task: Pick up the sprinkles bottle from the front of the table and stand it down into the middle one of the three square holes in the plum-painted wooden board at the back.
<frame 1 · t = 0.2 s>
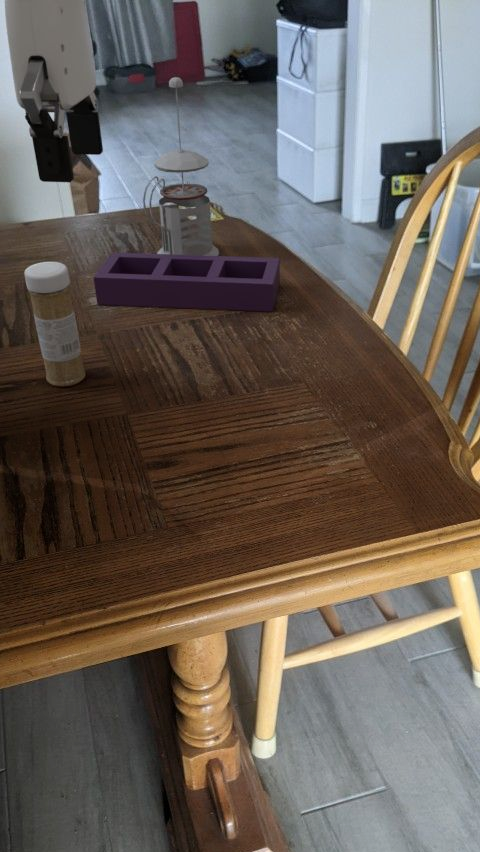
hand: (73, 166, 77), 24 cm above the table, tool pointing down, fingers open, 9 cm apart
sprinkles bottle: (66, 380, 91), on the table
token board: (190, 294, 110), on the table
french press: (183, 255, 123), on the table
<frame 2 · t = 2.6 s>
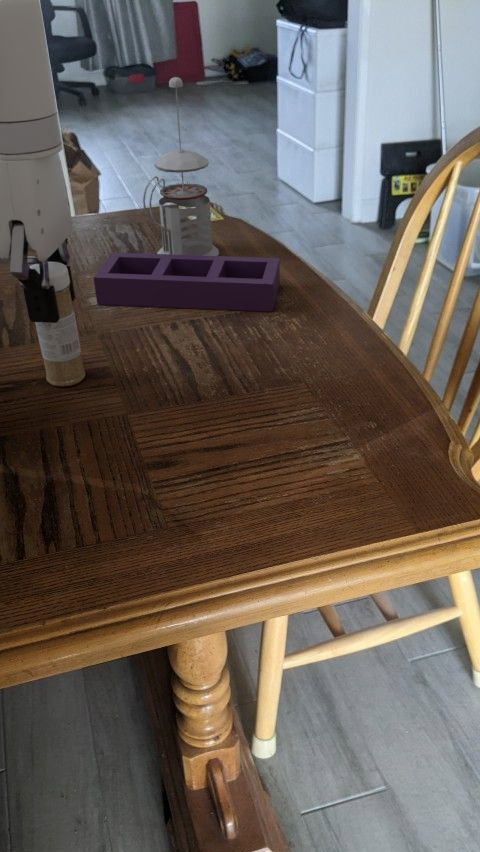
hand: (53, 308, 86), 9 cm above the table, tool pointing down, fingers closed on sprinkles bottle, 4 cm apart
sprinkles bottle: (66, 380, 91), on the table, touching gripper
everything else where it was.
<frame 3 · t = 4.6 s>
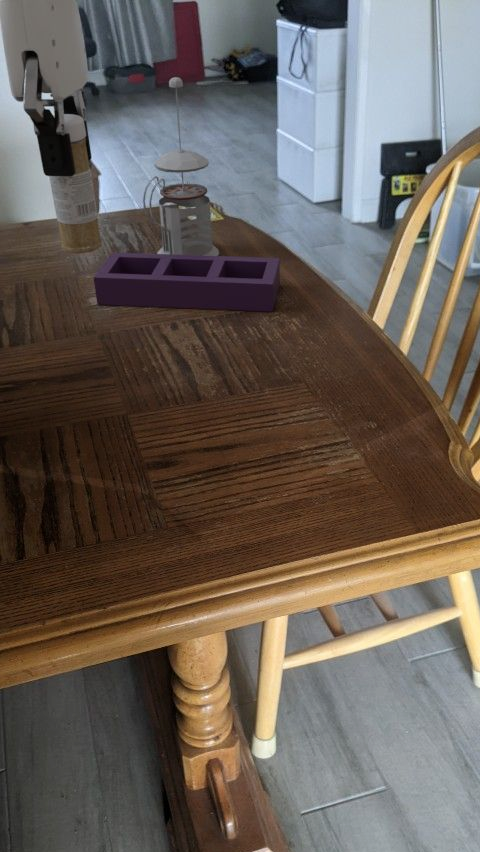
hand: (68, 165, 82), 23 cm above the table, tool pointing down, fingers closed on sprinkles bottle, 4 cm apart
sprinkles bottle: (82, 249, 87), point 14 cm above the table, touching gripper
everything else where it was.
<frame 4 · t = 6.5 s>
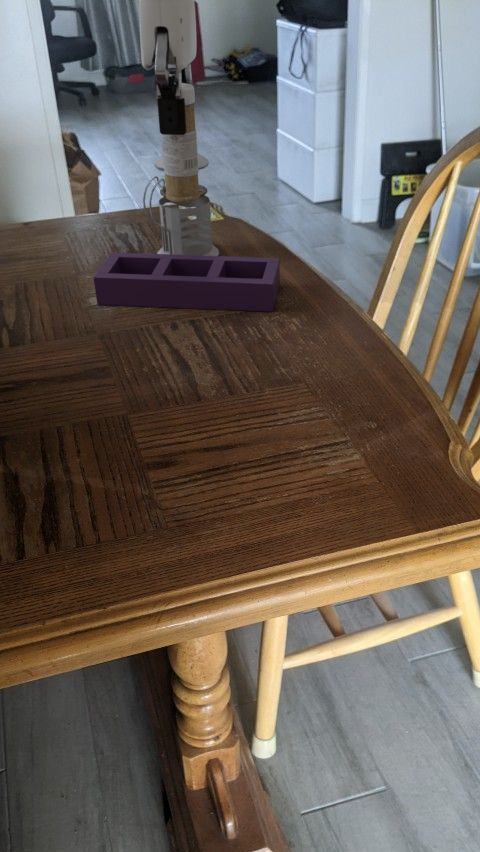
hand: (177, 127, 97), 22 cm above the table, tool pointing down, fingers closed on sprinkles bottle, 4 cm apart
sprinkles bottle: (183, 200, 102), point 13 cm above the table, touching gripper
everything else where it was.
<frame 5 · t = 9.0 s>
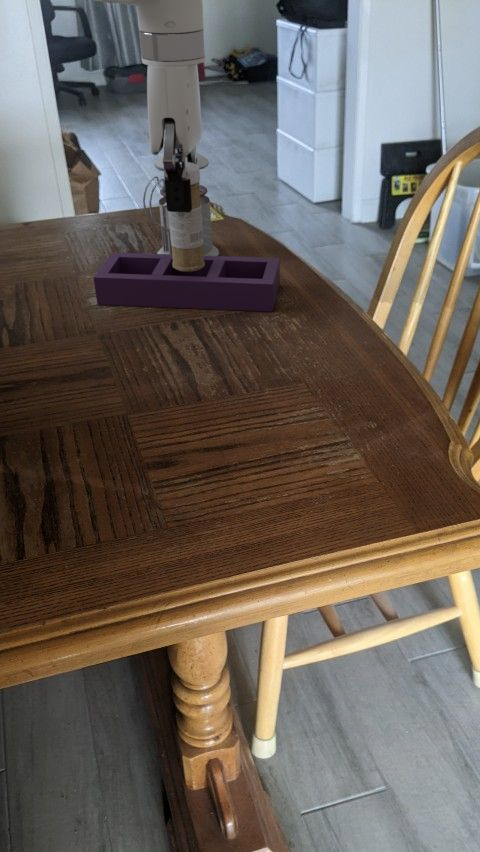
hand: (183, 203, 102), 13 cm above the table, tool pointing down, fingers closed on sprinkles bottle, 4 cm apart
sprinkles bottle: (188, 268, 108), point 4 cm above the table, touching gripper
everything else where it was.
when the fingers open (9 cm above the table, at t = 10.5 s): sprinkles bottle stays where it is, resting in token board.
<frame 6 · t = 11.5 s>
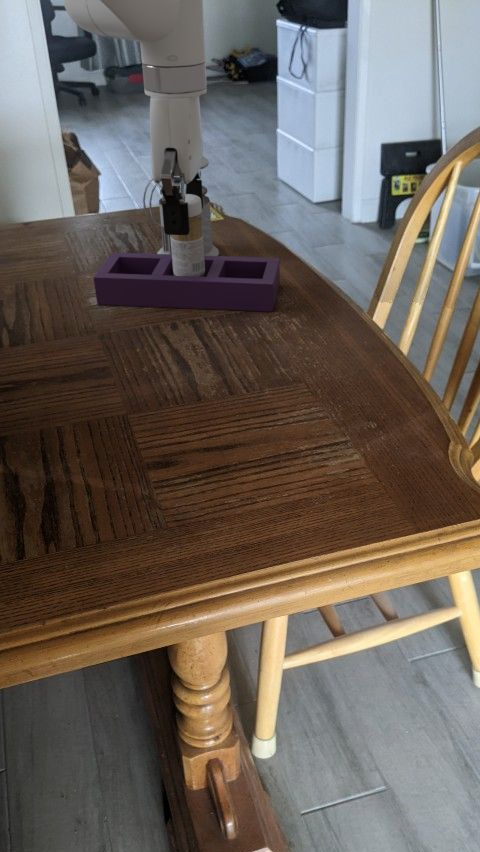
hand: (184, 221, 104), 10 cm above the table, tool pointing down, fingers open, 9 cm apart
sprinkles bottle: (190, 296, 110), resting in token board
everything else where it was.
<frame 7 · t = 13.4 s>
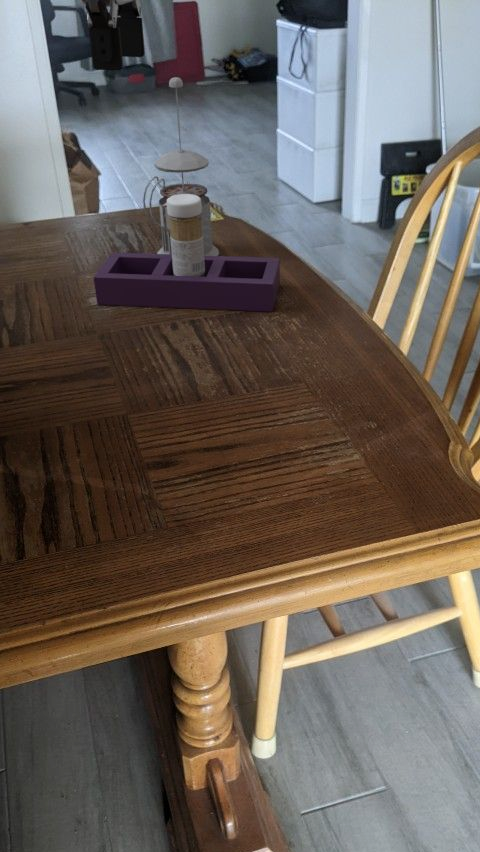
hand: (120, 62, 89), 30 cm above the table, tool pointing down, fingers open, 9 cm apart
nothing on the table moved.
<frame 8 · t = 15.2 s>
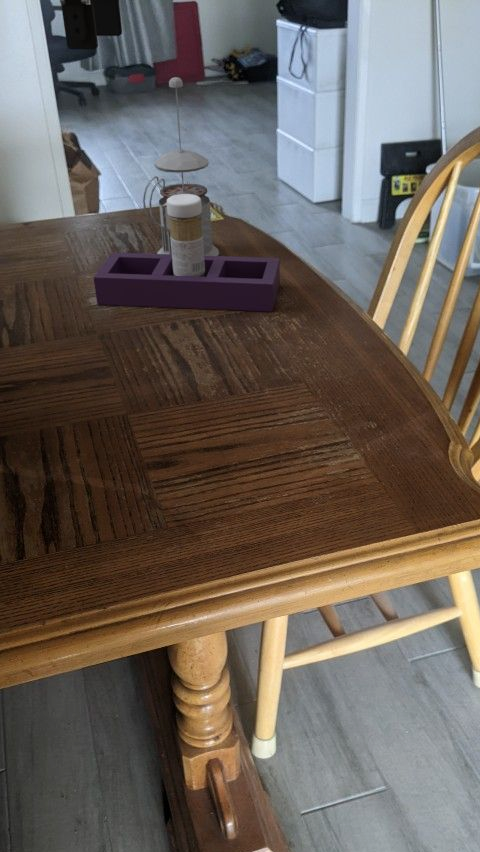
hand: (96, 41, 86), 32 cm above the table, tool pointing down, fingers open, 9 cm apart
nothing on the table moved.
at the end: sprinkles bottle 0.1 cm off-centre in the token board, point 0.0 cm above the token board's base; sprinkles bottle tilted 0°; the gripper is holding nothing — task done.
